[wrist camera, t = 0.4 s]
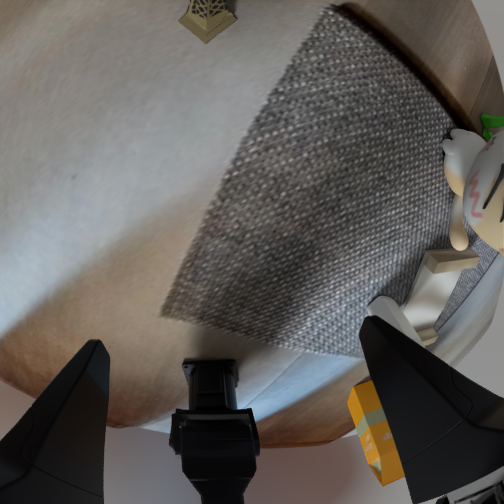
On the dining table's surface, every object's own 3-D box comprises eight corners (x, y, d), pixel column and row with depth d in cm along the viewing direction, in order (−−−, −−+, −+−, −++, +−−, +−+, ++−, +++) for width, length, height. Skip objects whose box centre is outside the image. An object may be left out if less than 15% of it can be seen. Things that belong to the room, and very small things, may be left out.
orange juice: (352, 386, 41) (389, 484, 24) (395, 370, 41) (436, 459, 24) (346, 403, 45) (375, 488, 28) (385, 389, 45) (418, 468, 29)
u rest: (427, 331, 36) (434, 342, 33) (384, 343, 34) (391, 356, 32) (468, 246, 27) (480, 256, 25) (425, 250, 26) (438, 262, 24)
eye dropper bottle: (396, 284, 28) (451, 364, 18) (397, 313, 31) (441, 386, 21) (364, 301, 28) (413, 388, 18) (368, 328, 32) (408, 405, 22)
